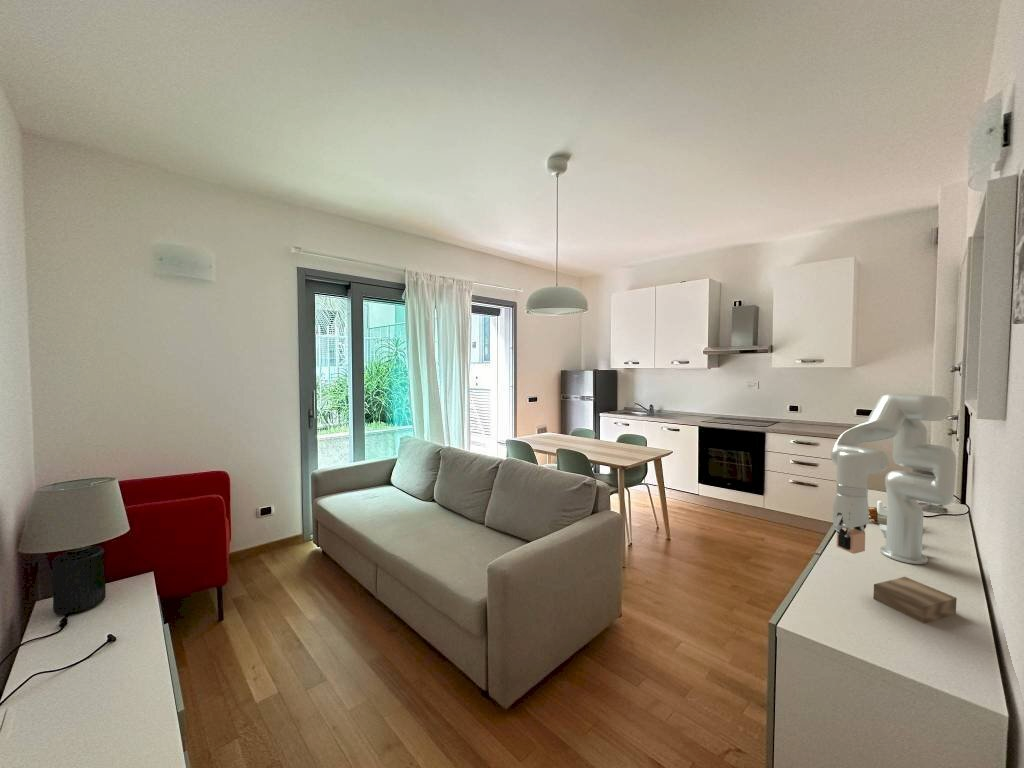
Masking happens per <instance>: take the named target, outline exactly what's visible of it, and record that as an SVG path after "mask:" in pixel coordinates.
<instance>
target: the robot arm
mask: <svg viewBox="0 0 1024 768" xmlns="http://www.w3.org/2000/svg"><path fill="white" fill-rule="evenodd" d="M950 412H951V404H950V401H949V400H948V399H947V398H946V397H944V396H942V395H929V394H917V393H916V394H913V393H885V394H883V395H882V396H880V397H879V398H878V400H877V401H876V402H875V405H874V406H873V408H872V410H871V412H870V414H869V415H868V417H867V419H866V421H865V422H863V423H860V424H857V425H855V426H853V427H851V428H849V429H847V430H845V431H844V432H842V433H841V434H840V435H839V436H838V438H837V439H836V441H835V443H834V445H833V446H832V448H831V452H830V460H831V461H832V463H833V464H834V465H836V493H835V496H834V499H833V503H832V512H831V513H832V514H831V521H832V523H833V525H832V528H833V529H834V530H835V531H836V535H837V534H838V546H840V547H842V548H845V549H847V550H850V539H851V538H850V537H849V534H850V529H851V528H854V529H857V530H860V531H862V532H865V533H866V530H865V529H866V527H867V525H868V524H869V523H870V520H869V519H868V518H869V517H870V515H869V509H870V508H868V507H869V500H868V497H869V495H868V494H869V490H868V489H869V474H880V473H883V472H884V471H885V470H887V469H888V467H889V466H890V458H889V456H888V455H887V454H886V452H884V451H882V450H879V449H875V448H869V447H862V446H857V445H861V444H865V443H871V442H877V441H878V442H879V441H883V440H888V439H892V438H893V445H892V446H893V447H892V461H893V462H894V463H895V464H896V465H897V466H898V467H899V466H900V467H903V468H908V469H912V470H913V469H914V470H917V471H918V470H920V471H925V472H931V473H932V474H933V475H931V474H924V473H919V472H914V471H909V470H892V471H889V472H888V473H886V475H885V478H884V485H885V490H886V497H887V498H886V502H887V506H886V507H887V529H886V538H885V545H883V546H880V548H879V551H880V553H881V554H882V555H884V556H885V557H887V558H890V559H893V560H894V561H899V562H901V563H906V564H912V565H913V564H914V565H925V564H927V563H928V561H929V559H928V557H927V556H926V555H925V554H923V551H924V550H927V549H928V545H926V544H925V543H923V538H924V537H923V534H924V511H923V510H924V509H922V506H921V505H920V504H919V502H917V501H920V502H924V503H928V504H934V505H939V506H948V505H949V504H951V503H952V502H953V499H954V496H955V487H956V472H957V457H956V453H955V452H954V450H953V449H951V448H950V447H948V446H944V445H939V444H937V445H936V444H932V443H931V444H930V443H928V441H927V437H928V436H927V435H928V429H927V427H926V425H925V424H924V423H923V421H925V422H926V421H927V422H942V421H943V420H945V419H947V417H949V414H950ZM842 528H846V531H844V530H843V529H842Z"/></svg>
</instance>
